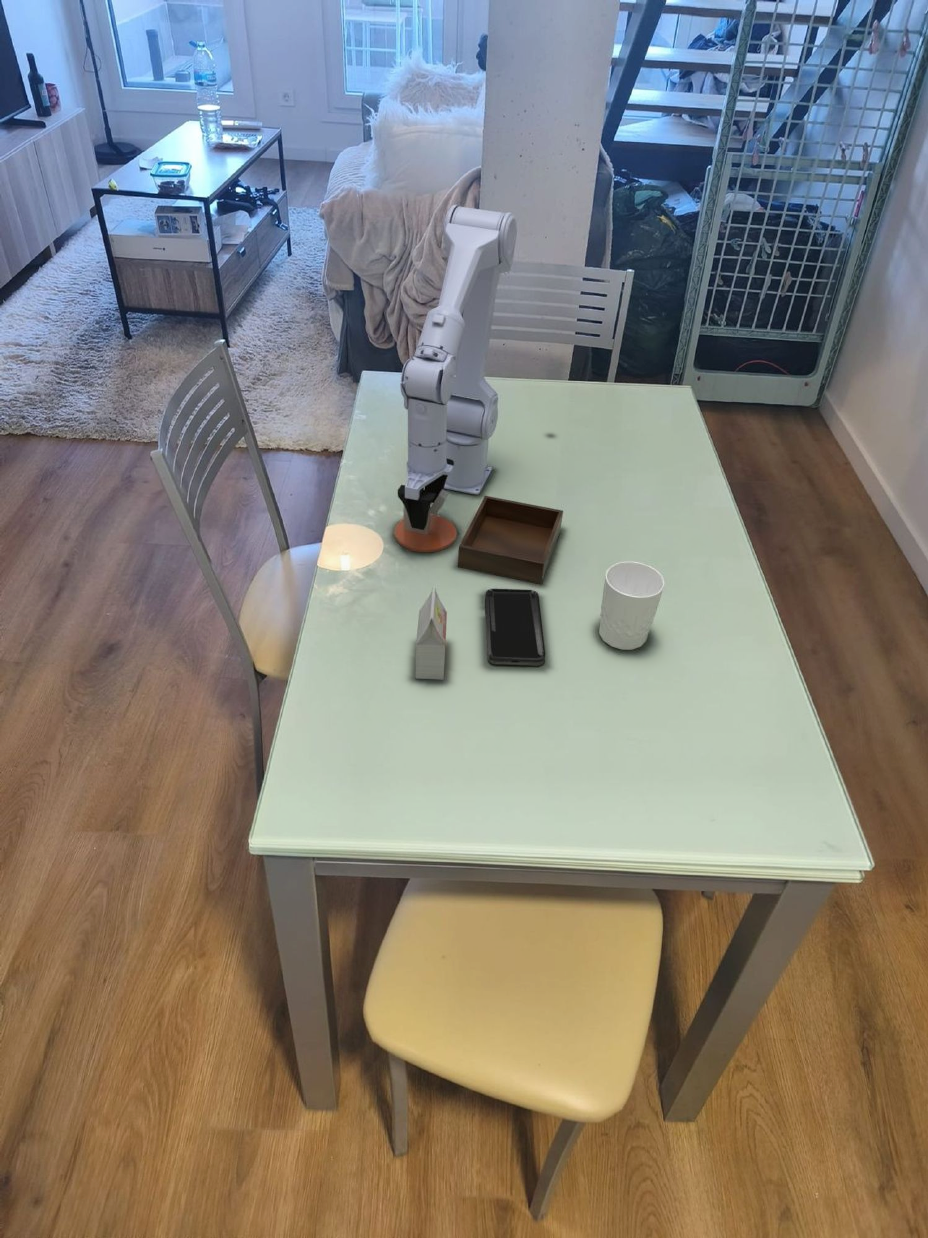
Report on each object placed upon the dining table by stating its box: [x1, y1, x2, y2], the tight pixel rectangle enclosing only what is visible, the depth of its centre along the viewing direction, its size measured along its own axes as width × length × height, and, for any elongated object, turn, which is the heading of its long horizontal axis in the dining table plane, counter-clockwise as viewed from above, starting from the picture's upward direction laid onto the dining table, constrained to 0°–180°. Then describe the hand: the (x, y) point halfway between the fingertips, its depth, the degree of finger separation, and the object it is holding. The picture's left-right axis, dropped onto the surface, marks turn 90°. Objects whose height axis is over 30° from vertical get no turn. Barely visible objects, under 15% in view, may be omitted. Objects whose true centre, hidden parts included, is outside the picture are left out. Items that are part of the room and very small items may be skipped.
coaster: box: [394, 514, 458, 553], centre depth 133 cm, size 10×10×1 cm
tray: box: [457, 495, 564, 585], centre depth 130 cm, size 15×13×4 cm
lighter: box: [403, 489, 450, 535], centre depth 130 cm, size 7×2×8 cm, turn 74°
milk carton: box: [415, 587, 448, 681], centre depth 107 cm, size 4×7×10 cm, turn 179°
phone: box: [484, 588, 546, 667], centre depth 116 cm, size 8×1×15 cm
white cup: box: [598, 560, 666, 651], centre depth 113 cm, size 8×8×10 cm
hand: (426, 514), depth 130 cm, fingers open, 7 cm apart
